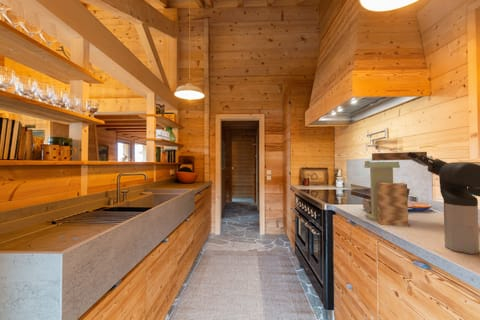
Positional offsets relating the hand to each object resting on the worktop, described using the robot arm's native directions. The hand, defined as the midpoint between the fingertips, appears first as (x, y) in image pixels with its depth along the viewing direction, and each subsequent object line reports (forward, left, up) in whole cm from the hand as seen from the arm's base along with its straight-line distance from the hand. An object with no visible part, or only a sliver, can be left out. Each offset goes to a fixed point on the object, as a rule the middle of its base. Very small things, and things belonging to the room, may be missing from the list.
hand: (407, 153), depth 116 cm
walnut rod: (-1, +4, -3) cm, 5 cm away
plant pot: (+33, +9, -38) cm, 52 cm away
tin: (+21, +23, -39) cm, 49 cm away
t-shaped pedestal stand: (+5, +13, -38) cm, 41 cm away
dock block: (-3, +7, -38) cm, 39 cm away
